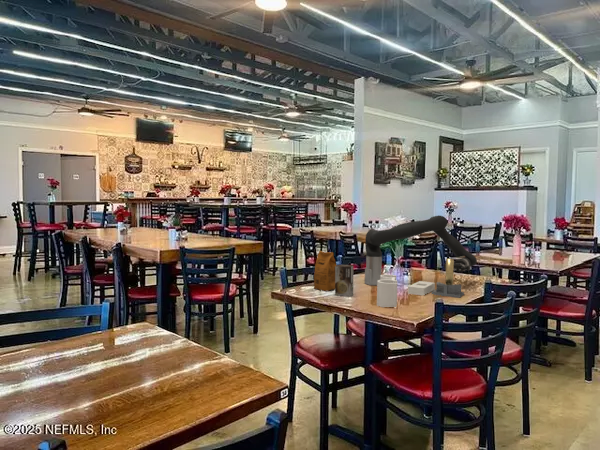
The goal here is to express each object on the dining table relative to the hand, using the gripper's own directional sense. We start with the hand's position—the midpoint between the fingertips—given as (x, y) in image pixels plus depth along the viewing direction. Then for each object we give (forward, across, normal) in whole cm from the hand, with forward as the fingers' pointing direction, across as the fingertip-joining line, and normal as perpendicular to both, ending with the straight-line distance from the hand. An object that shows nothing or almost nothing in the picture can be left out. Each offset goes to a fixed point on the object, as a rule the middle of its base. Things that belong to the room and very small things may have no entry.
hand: (453, 268), depth 260 cm
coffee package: (+39, -63, +13) cm, 75 cm away
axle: (+8, 0, +12) cm, 14 cm away
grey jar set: (+48, -21, +13) cm, 54 cm away
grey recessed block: (+12, -15, +13) cm, 23 cm away
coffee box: (+45, -46, +13) cm, 66 cm away
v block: (+11, 0, +13) cm, 17 cm away
